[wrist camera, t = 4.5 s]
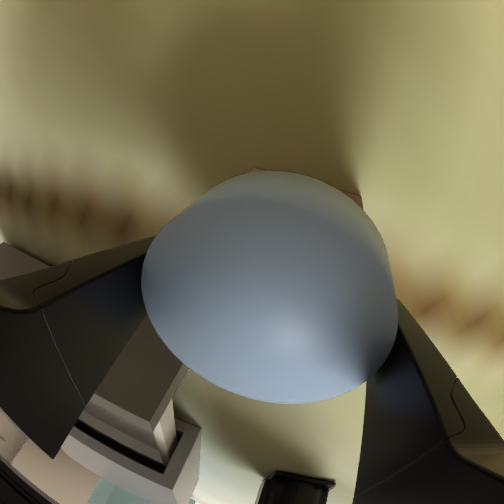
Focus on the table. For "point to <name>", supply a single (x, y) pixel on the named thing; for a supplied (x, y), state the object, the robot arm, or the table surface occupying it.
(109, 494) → the radio
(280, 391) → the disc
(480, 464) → the robot arm
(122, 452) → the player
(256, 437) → the table surface
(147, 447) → the grey white drawer
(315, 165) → the table surface
